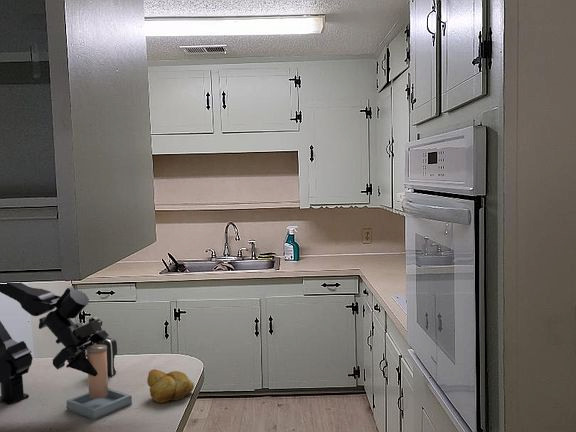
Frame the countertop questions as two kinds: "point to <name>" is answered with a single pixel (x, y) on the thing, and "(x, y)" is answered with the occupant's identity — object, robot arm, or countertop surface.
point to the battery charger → (111, 354)
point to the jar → (98, 371)
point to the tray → (99, 404)
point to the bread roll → (168, 385)
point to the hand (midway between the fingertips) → (102, 371)
